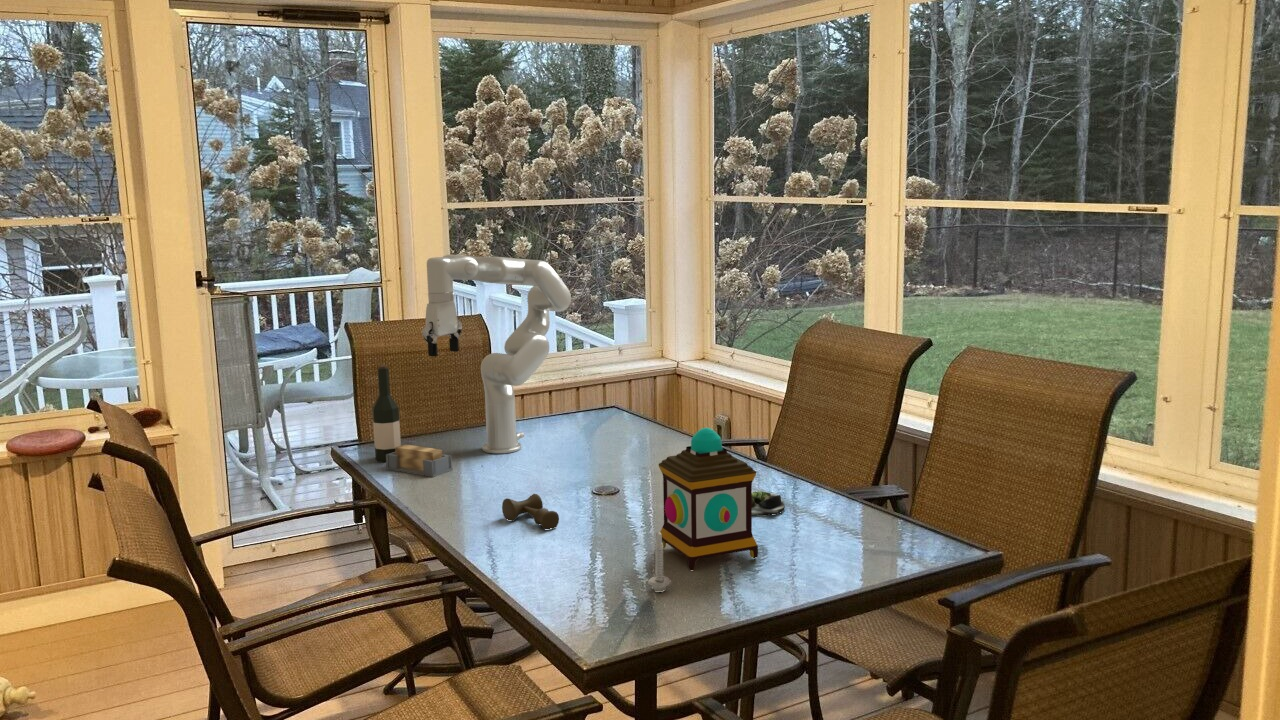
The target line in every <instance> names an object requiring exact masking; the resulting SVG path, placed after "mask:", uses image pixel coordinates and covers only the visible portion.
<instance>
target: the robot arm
mask: <svg viewBox="0 0 1280 720" xmlns="http://www.w3.org/2000/svg"><path fill="white" fill-rule="evenodd" d="M426 277H427V278H426V280H427V294H428V295H427V296H428V303H427V304H426V307H425V308H426V310H425V320H424V321H425V326H424V328H422V330H421V334H422V336H423V339H424V340H425V342H426V344H427V352H428V353H427V355H428V357H438V356H439V355H438V343H437V340H438V338H439V337H444V336H449V337H450V338H448V339H449V351H450V352H455V353H456V352H457V353H458V352H459V351H460V347H459V346H460V344H459V339H460V338H461V337H460V335H461V333H462V327H463V322H461V321H460V320H458V314H457V307H456V303H455V300H454V299H455V297H454V295H455V293H454V280H462V281H468V280H469V281H477V282H482V283H488V284H496V285H498V284H500V285H515V286H529V287H530V286H532V287H531V288H530V289H529V290H528V293H527V315H526V317H525V318H524V320H523V321H522V322H521V323H520V324H519V326H517V328H516V329H515V330H514V331H513V332H512V333H511V334H510V335H509V336H508V338H507V339H506V341H505V342H504V346H503V347H504V352H505V353H501V352H494V353H493V352H492V353H490V354H487V355H485V356H484V358H483V359H482V360H481V364H480V375H481V379H482V382H483V390H484V401H485V403H484V404H485V406H484V407H485V423H486V424H485V427H486V429H485V430H486V443H485V444H484V445H482V446H481V447H482V451H483V452H484V453H488V454H496V455H497V454H500V455H501V454H509V453H510V454H511V453H514V452H518V451H520V450H522V443H520V442H519V440H520V439H523V438H525V432H523V431H520V432H517V425H516V424H517V420H516V419H517V418H516V399H515V390H514V387H517V386H518V387H519V386H521V385H523V384H525V382H527V381H528V380H529V379H530V377H531V376H533V374H534V373H535V372H536V371H537V370H538V368H540V367H541V365H542V364H543V363H544V361H545V360H546V359H547V357H548V356H549V352H550V342H549V340H548V338H547V337H546V335H547V333H548V331H549V329H550V312H558V313H560V312H563V311H565V310H567V309H569V307H570V305H571V303H572V302H571V301H572V296H571V292H570V290H569V287H567V286H566V283H564V281H563V279H562V278H561V277H560V275H559V274H558V273H557V272H556V271H555V269H554V268H553V267H552V266H551V265H550V264H549V263H548V262H547V261H545V260H540V259H526V258H517V257H515V258H514V257H507V256H505V257H504V256H469V255H466V254H465V255H464V254H463V255H462V254H446V255H443V256H436V257H435V256H434V257H430V258H428V259H427V260H426Z"/></svg>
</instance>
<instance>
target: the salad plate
mask: <svg viewBox="0 0 1280 720" xmlns="http://www.w3.org/2000/svg"><path fill="white" fill-rule="evenodd" d="M785 508H786V505H785V503H784V501H783V498H782V496H781V494H776V493H771V492H767V491H760V490H757V491H752V515H767V516H773V515H772V514H776V515H778V514H777V513H779V514H781V513H782V511H783V512H784V510H785ZM780 512H781V513H780Z"/></svg>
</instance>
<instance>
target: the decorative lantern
mask: <svg viewBox="0 0 1280 720" xmlns="http://www.w3.org/2000/svg"><path fill="white" fill-rule="evenodd" d="M690 442H691V443H690V445H687V446H686V447H685V448H686V449H684V450H681V452H680V453H677V454H676V455H670V456H666V458H665V459H663V460H661V462H659V463H658V468H659V470H660V471H661V474H662V482H663V483H662V484H663V485H662V487H663V488H662V489H663V490H662V491H663V492H662V493H663V525H662V527H661V529H660V531H659V532H660V533H661V534H662V542H663V544H662V545H663V548H664V549H665V548H666V544H667V545H668V546H670V547H671V548H672V549H674V550H675V551H677V552H678V553H679V554H681V555H682V556H683V557H685V558H686V561H687V565H688V570H689V571H690V570H694V571H695V568H696V564H697V561H698V560H701V559H707V558H711V557H717V556H723V555H728V554H734V553H735V554H736V553H738V552H739V553H741V552H743V551H744V552H745V551H749V556H751V557H753V558H755V557H757V558H758V555H759V546H758V543H757V541H756V539H755V538H754V536H753V530H752V529H753V525H752V520H753V516H752V493H753V491H752V486H753V481H754V479H755V478H756V475H757V470H755V469H754V468H753V467H752V466H750V465H748V463H747V462H746V461H743V460H741V459H739V458H737V457H735V456H733V455H732V454H731V453H729V452H728V450H727V449H726V448H724V447H722V446H723V443H722V438H721V436H720V435H719V434H718V433H717V432H716V431H715V430H714V429H712V428H710V427H703V428H699V430H698V431H697V432H696V433H695V434H694V435H693V436H692V437H691V441H690ZM751 557H750V558H751Z"/></svg>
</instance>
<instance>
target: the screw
mask: <svg viewBox="0 0 1280 720" xmlns="http://www.w3.org/2000/svg"><path fill="white" fill-rule="evenodd" d="M662 544H663V542H662V534H661V533H660V531H657V532H656V533H655V544H654V545H655V546H654V548H655V549H654V551H655V552H654V554H655V555H654V556H655V557H654V562H655V563H654V564H655V566H654V572H655V576H652V577H650V578H649V579H648V581H647V583H648V585H649V586H651V587H653V591H654V590H655V591H663V590H666V591H667V587H668V586H670V585H671V584H672V580H671V579H670V578H669V577H667V576H665V575H664V574H665V572H664V571H665V569H664V568H665V567H664V565H665V564H664V563H665V562H664V560H665V559H664V552H665V551H664V549H665V548H663V545H662Z"/></svg>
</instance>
